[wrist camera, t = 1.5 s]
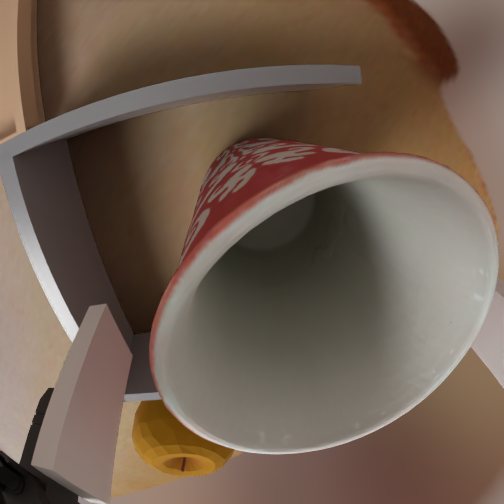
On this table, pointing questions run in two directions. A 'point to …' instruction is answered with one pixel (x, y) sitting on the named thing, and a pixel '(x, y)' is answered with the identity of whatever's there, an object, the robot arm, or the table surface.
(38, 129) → the bay
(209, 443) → the apple
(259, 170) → the mug
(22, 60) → the tray
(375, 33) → the table surface
